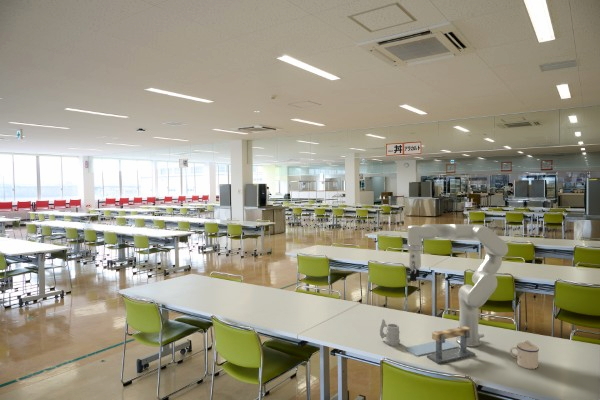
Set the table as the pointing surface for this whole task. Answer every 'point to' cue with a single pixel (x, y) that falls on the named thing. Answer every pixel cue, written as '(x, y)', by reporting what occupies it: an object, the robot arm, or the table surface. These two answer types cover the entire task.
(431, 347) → the slate mat
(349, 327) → the table surface
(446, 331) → the oak rail
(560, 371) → the table surface
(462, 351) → the stand
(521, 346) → the teacup with lid
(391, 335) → the mug
